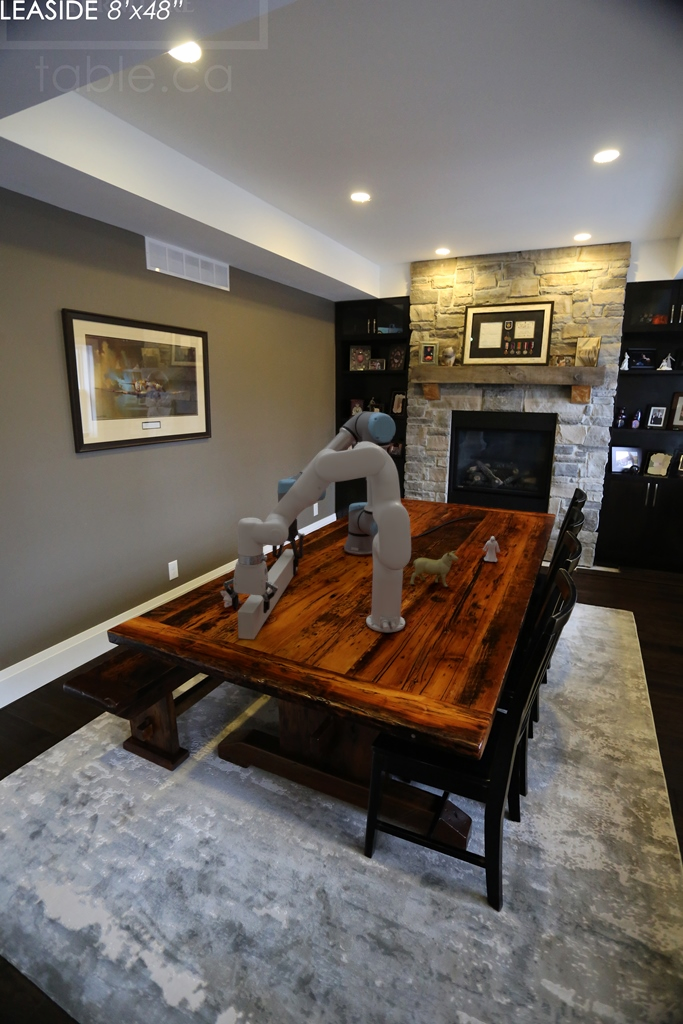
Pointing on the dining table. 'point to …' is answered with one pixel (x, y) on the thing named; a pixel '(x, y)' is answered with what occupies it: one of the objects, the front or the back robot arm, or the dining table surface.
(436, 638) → the dining table surface
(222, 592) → the seashell
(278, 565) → the beam
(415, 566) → the toy
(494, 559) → the figurine
